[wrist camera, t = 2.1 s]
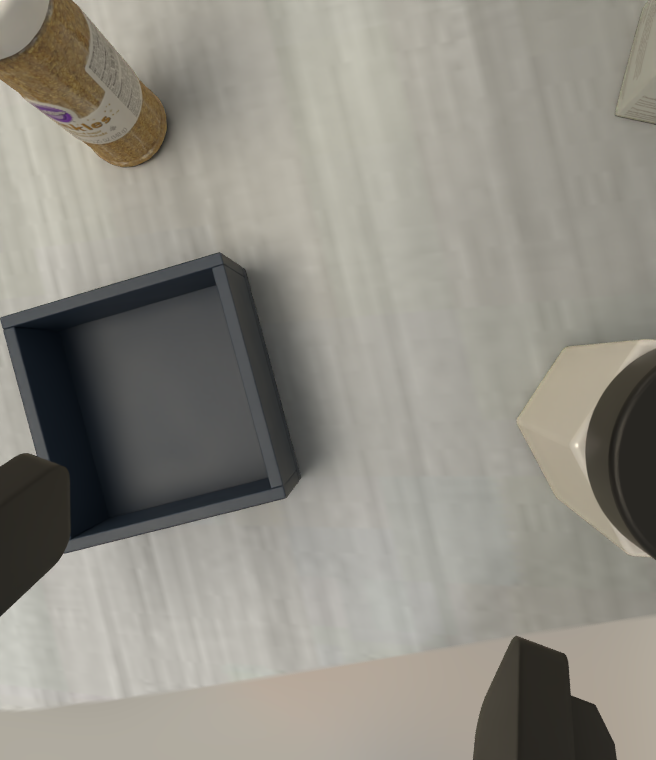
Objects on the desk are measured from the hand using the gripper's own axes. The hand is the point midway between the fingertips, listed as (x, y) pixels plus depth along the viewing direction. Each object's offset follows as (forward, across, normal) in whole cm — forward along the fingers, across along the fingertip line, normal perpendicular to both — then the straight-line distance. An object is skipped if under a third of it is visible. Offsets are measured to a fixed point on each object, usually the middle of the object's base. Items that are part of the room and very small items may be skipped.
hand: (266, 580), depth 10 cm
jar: (+23, -10, +6) cm, 26 cm away
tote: (+18, +12, +9) cm, 24 cm away
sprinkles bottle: (+23, +18, -3) cm, 30 cm away
